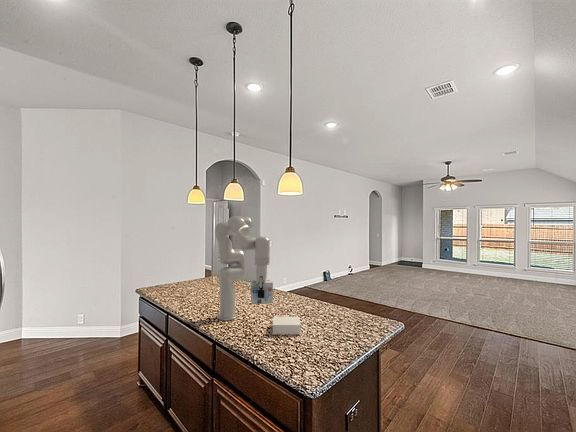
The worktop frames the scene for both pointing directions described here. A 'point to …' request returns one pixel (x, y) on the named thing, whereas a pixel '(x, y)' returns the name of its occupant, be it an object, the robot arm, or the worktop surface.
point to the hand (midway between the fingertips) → (261, 295)
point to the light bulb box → (267, 293)
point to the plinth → (286, 325)
